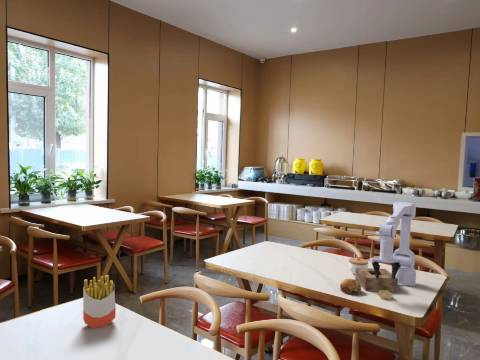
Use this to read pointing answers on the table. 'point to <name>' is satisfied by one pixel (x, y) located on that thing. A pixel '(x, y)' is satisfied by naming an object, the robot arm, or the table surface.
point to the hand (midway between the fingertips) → (385, 277)
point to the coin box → (376, 279)
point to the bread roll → (350, 287)
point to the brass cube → (385, 294)
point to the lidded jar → (357, 264)
